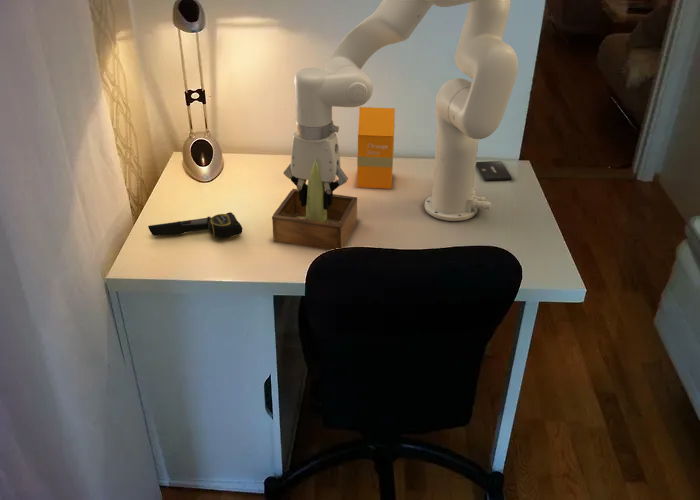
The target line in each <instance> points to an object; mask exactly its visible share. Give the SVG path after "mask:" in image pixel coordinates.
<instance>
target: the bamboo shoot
mask: <svg viewBox="0 0 700 500" xmlns="http://www.w3.org/2000/svg"><path fill="white" fill-rule="evenodd" d="M307 185H308V188H307V203H306V216H305V219H306V220H313V221H320V222H327V223H328V219H327V210H325V209H324V193H325V187H324V183H323V181H321V178H320V170H319V165H318V163H317V162H316V159H315V162H314V164H313V166H312V170H311V175H310V179H309V180H308V179H307Z"/></svg>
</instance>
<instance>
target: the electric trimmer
mask: <svg viewBox="0 0 700 500" xmlns="http://www.w3.org/2000/svg"><path fill="white" fill-rule="evenodd" d="M211 217H212V216H207V217H203V218H196V219H188V220H182V221H181V220H178V221H173V222H165V223H159V224H150V225H147V228H148V230H149V232H150V234H151V235H152V236H154V237H158V236H160V237H161V236H182V235H183V234H185V233H193V232H202V231H203V232H204V231H209V228H208V223H209V220H210V218H211Z"/></svg>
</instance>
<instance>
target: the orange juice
mask: <svg viewBox="0 0 700 500" xmlns="http://www.w3.org/2000/svg"><path fill="white" fill-rule="evenodd" d="M395 113H396V108H394V107H373V106H372V107H370V106H359V111H358V127H357V128H358V130H357V160H356V163H357V164H356V165H357V166H356V167H357V168H356V169H357V171H356V173H357V174H356V175H357V176H356V187H357V188H366V189H367V188H370V189H386V190H387V189H392V183H393V169H394V168H393V166H394V151H395V148H394V147H395V146H394V144H395V127H396V126H395V125H396V124H395V116H396V115H395Z"/></svg>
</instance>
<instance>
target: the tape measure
mask: <svg viewBox="0 0 700 500" xmlns="http://www.w3.org/2000/svg"><path fill="white" fill-rule="evenodd" d="M210 217H211V218H210V220H209V223H208V228H209V230H208V232H209V233H210V235H211V236H213V237H214V238H217V239H221V240H223V239H230V238H232V237H235V236H239V235H241V234H242V233H243V226H242V224H241V223H240V222H239V221H238V220H237V217H236V216H235V214H234V213H233V212H232V211H231V212H226V213H217V214H215V215H213V216H210Z"/></svg>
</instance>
